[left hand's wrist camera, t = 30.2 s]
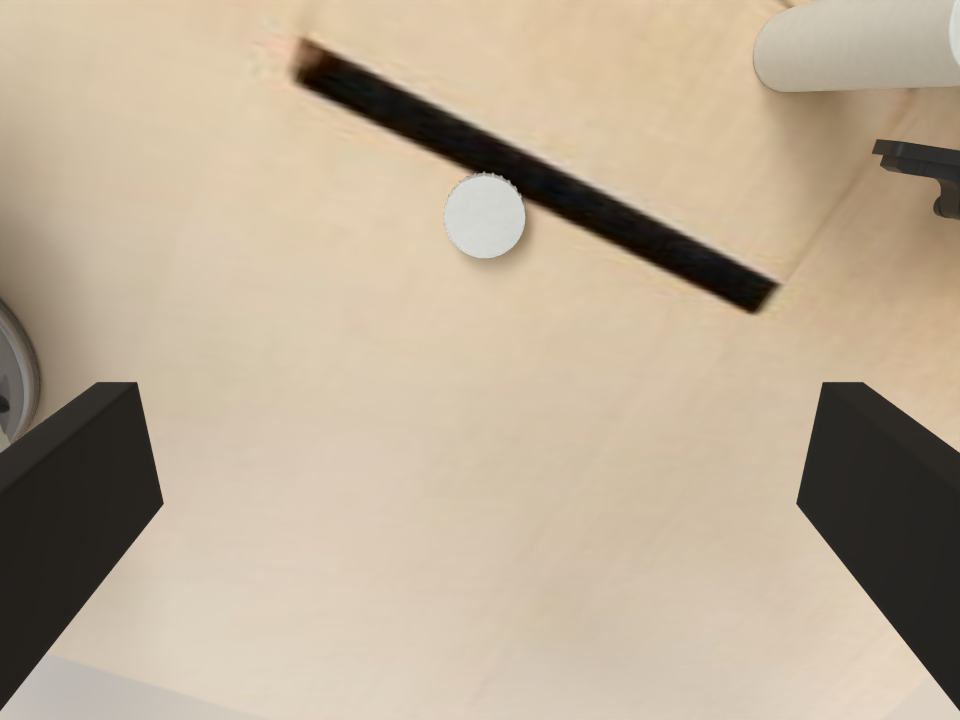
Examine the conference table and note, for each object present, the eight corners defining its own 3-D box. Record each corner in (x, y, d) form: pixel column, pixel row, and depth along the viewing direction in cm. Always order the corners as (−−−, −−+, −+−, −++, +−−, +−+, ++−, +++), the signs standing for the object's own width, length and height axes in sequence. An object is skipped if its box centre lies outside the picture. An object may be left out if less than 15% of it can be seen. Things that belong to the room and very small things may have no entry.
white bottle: (765, 1, 35) (1025, -91, 18) (841, 13, 35) (1166, -67, 18) (743, 86, 36) (963, 72, 20) (816, 97, 37) (1094, 92, 20)
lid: (428, 206, 39) (425, 211, 37) (491, 154, 38) (492, 156, 36) (477, 268, 40) (477, 275, 39) (540, 220, 39) (543, 225, 37)
